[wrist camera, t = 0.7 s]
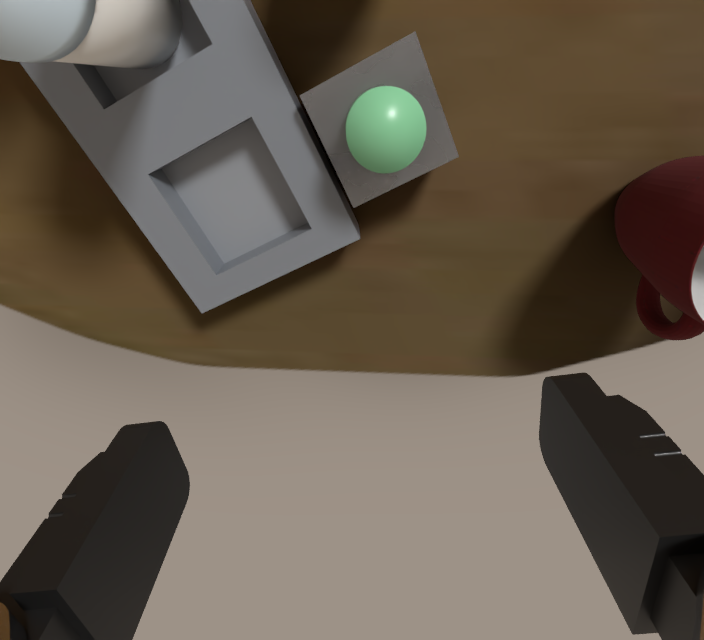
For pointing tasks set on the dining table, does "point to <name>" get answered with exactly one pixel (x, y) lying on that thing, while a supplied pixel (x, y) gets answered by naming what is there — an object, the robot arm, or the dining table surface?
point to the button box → (342, 90)
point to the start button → (385, 129)
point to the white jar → (90, 31)
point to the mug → (666, 244)
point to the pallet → (209, 153)
